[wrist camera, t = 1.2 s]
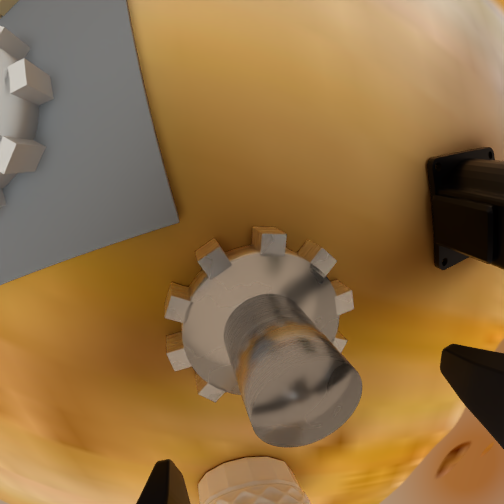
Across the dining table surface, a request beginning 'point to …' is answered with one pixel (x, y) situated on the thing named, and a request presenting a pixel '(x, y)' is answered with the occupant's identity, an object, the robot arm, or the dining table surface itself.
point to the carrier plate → (74, 135)
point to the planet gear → (268, 336)
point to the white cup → (251, 483)
